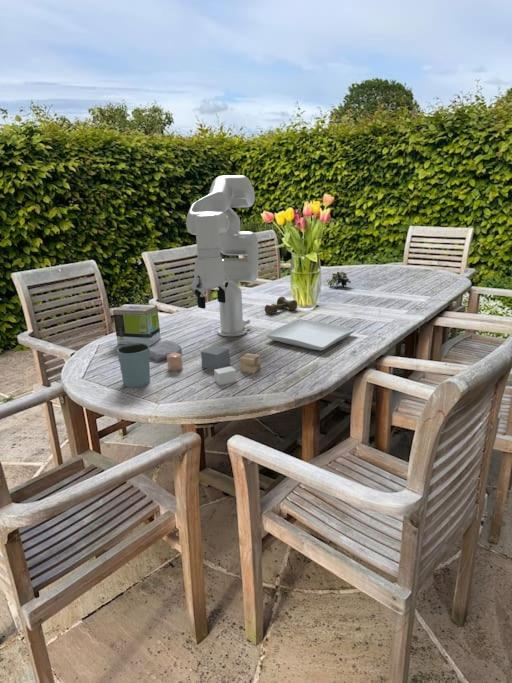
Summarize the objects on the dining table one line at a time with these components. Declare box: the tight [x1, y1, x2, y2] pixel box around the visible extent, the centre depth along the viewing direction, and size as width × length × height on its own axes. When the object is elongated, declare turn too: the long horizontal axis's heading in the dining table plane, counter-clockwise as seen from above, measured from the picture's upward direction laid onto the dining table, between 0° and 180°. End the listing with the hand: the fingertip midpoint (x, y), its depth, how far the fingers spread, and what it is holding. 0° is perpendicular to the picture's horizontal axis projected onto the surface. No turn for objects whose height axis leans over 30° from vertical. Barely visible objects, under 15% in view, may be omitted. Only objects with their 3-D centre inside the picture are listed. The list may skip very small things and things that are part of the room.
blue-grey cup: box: [116, 343, 151, 389], centre depth 150 cm, size 10×10×12 cm
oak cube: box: [239, 352, 261, 374], centre depth 158 cm, size 5×5×5 cm
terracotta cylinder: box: [166, 353, 184, 373], centre depth 161 cm, size 5×5×5 cm
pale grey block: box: [213, 365, 237, 386], centre depth 150 cm, size 6×4×4 cm, turn 116°
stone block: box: [149, 340, 183, 362], centre depth 174 cm, size 12×5×10 cm
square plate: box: [264, 318, 356, 351], centre depth 187 cm, size 27×27×4 cm
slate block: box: [200, 345, 231, 371], centre depth 162 cm, size 7×7×6 cm
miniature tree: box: [326, 271, 352, 289], centre depth 272 cm, size 11×11×12 cm
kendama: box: [264, 296, 298, 316], centre depth 228 cm, size 6×10×20 cm
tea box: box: [112, 303, 161, 347], centre depth 188 cm, size 15×10×15 cm, turn 74°
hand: (211, 304), depth 156 cm, fingers open, 8 cm apart
